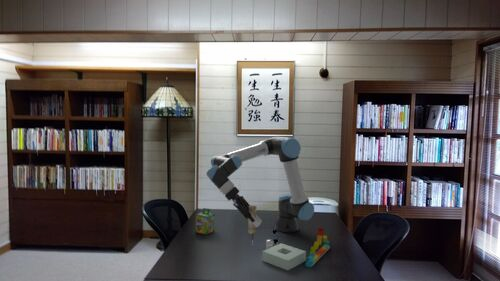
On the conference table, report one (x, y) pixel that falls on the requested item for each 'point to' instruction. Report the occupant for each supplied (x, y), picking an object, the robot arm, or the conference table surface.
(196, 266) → the conference table surface
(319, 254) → the chart
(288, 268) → the hole block
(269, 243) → the short metal pin
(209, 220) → the chalk box
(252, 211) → the tall beech pin
